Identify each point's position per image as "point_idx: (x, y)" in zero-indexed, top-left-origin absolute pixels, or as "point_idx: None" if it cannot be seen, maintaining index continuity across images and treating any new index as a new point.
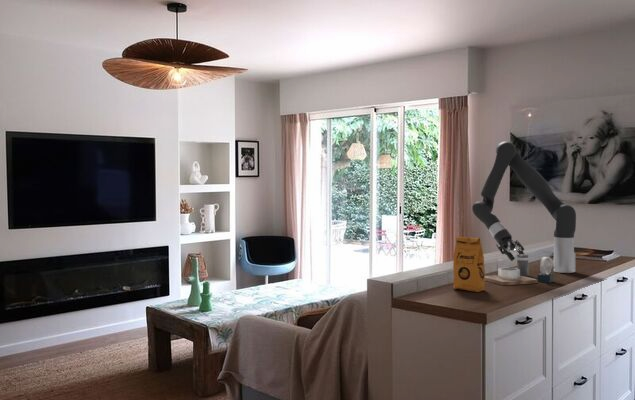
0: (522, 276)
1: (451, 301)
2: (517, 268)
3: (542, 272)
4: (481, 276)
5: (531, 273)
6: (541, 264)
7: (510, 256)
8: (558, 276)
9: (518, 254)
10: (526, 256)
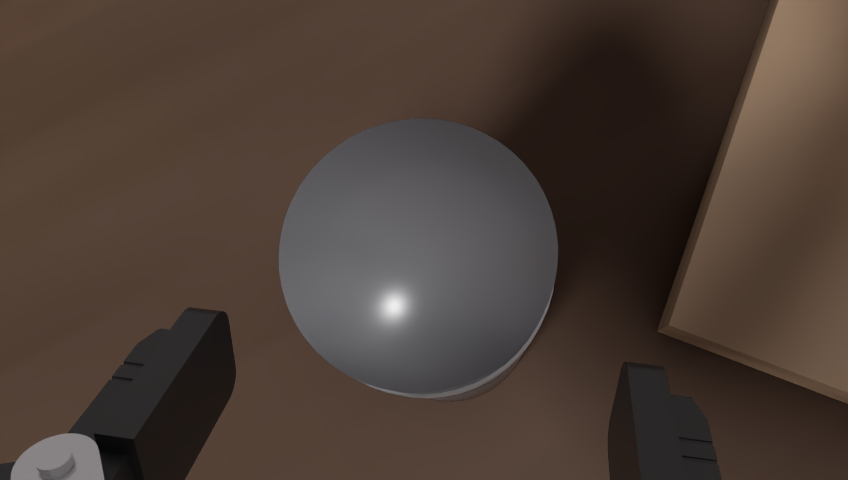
0: (762, 126)
1: None
2: (517, 361)
3: None
4: None
5: None
6: None
7: (713, 447)
8: (132, 6)
9: (398, 385)
10: (457, 132)
